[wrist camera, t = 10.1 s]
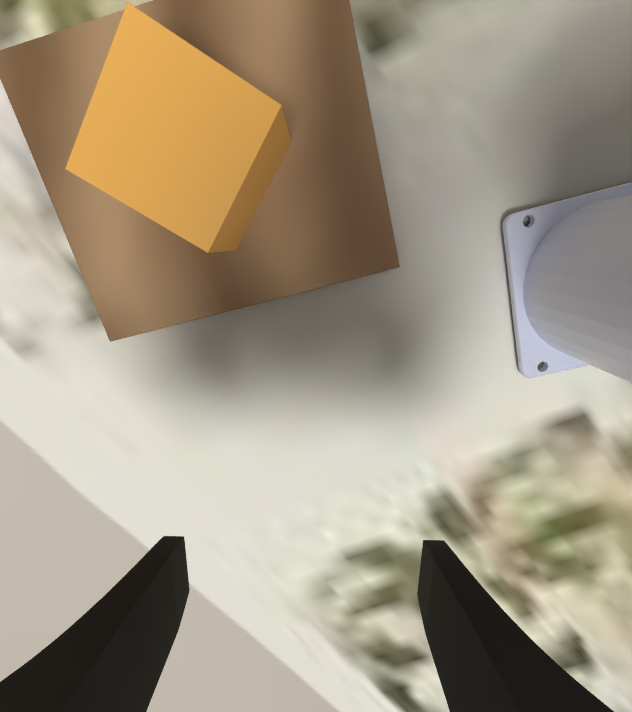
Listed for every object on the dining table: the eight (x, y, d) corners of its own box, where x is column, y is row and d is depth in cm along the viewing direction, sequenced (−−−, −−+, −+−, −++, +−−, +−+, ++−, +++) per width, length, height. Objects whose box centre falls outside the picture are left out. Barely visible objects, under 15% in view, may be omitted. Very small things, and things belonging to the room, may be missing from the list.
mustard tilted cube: (181, 70, 15) (127, 2, 11) (291, 142, 16) (281, 105, 12) (131, 188, 16) (65, 168, 12) (235, 250, 17) (207, 252, 13)
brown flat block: (336, -41, 15) (342, -138, 11) (395, 265, 18) (415, 271, 14) (9, 64, 16) (-88, 8, 12) (120, 336, 19) (71, 359, 15)
